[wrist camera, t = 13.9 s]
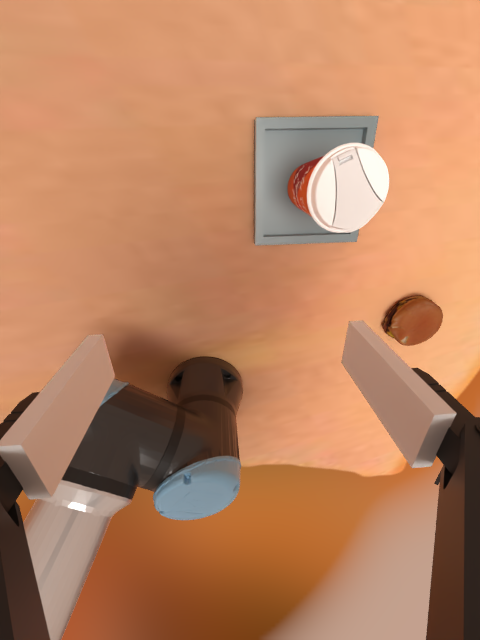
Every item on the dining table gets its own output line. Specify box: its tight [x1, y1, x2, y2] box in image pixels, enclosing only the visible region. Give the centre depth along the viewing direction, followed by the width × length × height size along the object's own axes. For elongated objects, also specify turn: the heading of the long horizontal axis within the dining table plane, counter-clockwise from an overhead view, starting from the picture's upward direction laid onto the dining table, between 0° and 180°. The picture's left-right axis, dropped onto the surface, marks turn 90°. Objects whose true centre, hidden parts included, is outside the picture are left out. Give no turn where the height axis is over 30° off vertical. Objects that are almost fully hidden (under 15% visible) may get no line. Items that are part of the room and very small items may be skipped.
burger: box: [383, 296, 443, 346], centre depth 50 cm, size 10×9×5 cm
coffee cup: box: [287, 143, 389, 233], centre depth 33 cm, size 8×8×15 cm
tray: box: [254, 116, 379, 245], centre depth 39 cm, size 16×16×2 cm
